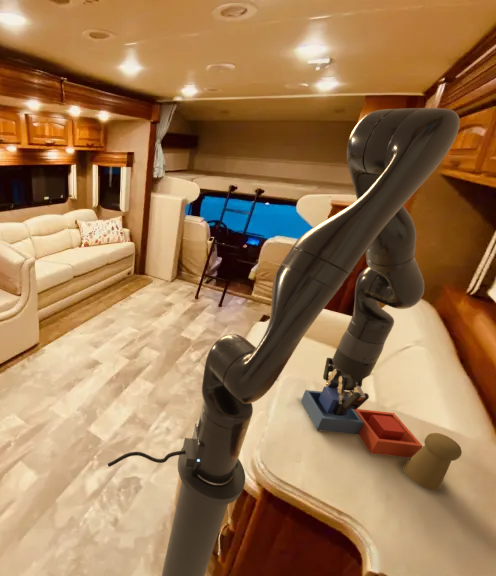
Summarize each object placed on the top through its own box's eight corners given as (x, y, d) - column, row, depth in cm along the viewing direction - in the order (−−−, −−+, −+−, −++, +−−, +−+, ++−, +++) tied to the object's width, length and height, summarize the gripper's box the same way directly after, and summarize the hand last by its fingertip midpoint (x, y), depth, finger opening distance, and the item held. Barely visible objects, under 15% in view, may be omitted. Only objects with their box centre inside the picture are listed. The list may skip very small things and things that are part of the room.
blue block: (327, 413, 78) (333, 399, 76) (318, 399, 82) (324, 386, 80) (346, 415, 78) (353, 401, 76) (336, 401, 82) (342, 388, 80)
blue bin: (316, 430, 78) (322, 418, 76) (300, 401, 86) (305, 389, 84) (357, 434, 77) (363, 422, 75) (337, 405, 85) (342, 393, 84)
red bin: (370, 453, 72) (377, 440, 71) (347, 420, 81) (353, 408, 79) (414, 458, 72) (423, 446, 70) (387, 424, 80) (394, 412, 78)
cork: (396, 460, 71) (419, 425, 66) (427, 465, 70) (453, 431, 65) (414, 486, 66) (440, 450, 61) (447, 493, 65) (476, 457, 60)
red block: (376, 443, 74) (384, 430, 72) (364, 427, 78) (371, 414, 76) (396, 446, 74) (405, 432, 72) (384, 429, 78) (391, 416, 76)
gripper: (325, 332, 79) (304, 384, 87) (358, 370, 66) (330, 427, 74) (357, 335, 79) (333, 387, 86) (397, 374, 66) (364, 431, 73)
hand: (332, 406), depth 80 cm, fingers closed on blue block, 4 cm apart
